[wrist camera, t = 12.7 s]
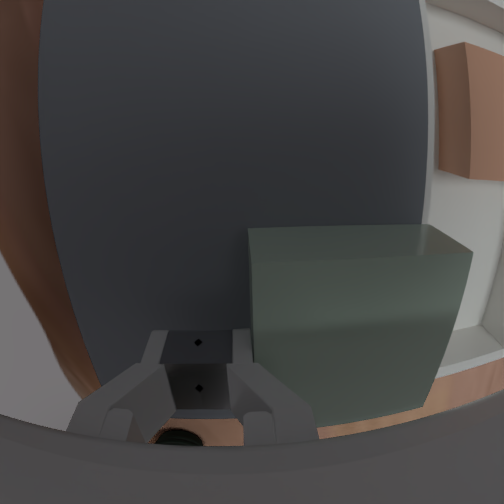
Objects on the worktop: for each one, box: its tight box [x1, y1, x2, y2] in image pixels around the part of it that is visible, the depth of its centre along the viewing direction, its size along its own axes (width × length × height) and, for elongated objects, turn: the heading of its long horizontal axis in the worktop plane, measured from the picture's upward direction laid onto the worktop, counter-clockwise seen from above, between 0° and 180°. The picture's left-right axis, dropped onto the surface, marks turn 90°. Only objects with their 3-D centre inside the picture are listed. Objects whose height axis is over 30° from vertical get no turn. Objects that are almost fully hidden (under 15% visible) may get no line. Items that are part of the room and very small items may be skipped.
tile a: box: [434, 42, 504, 181], centre depth 11 cm, size 6×6×2 cm
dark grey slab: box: [38, 0, 428, 419], centre depth 11 cm, size 18×12×5 cm, turn 2°
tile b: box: [248, 224, 474, 428], centre depth 9 cm, size 6×6×2 cm
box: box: [419, 0, 504, 378], centre depth 12 cm, size 20×10×4 cm, turn 2°
